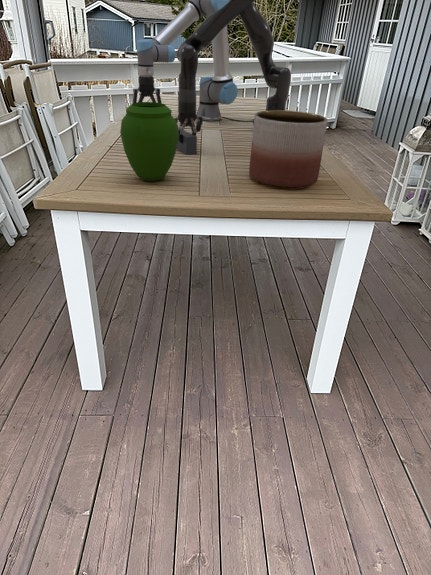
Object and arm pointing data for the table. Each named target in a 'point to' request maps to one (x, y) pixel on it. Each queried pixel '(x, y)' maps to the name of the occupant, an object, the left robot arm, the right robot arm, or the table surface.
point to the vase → (149, 139)
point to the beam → (188, 143)
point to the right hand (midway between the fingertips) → (187, 142)
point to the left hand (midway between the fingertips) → (148, 124)
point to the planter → (287, 148)
